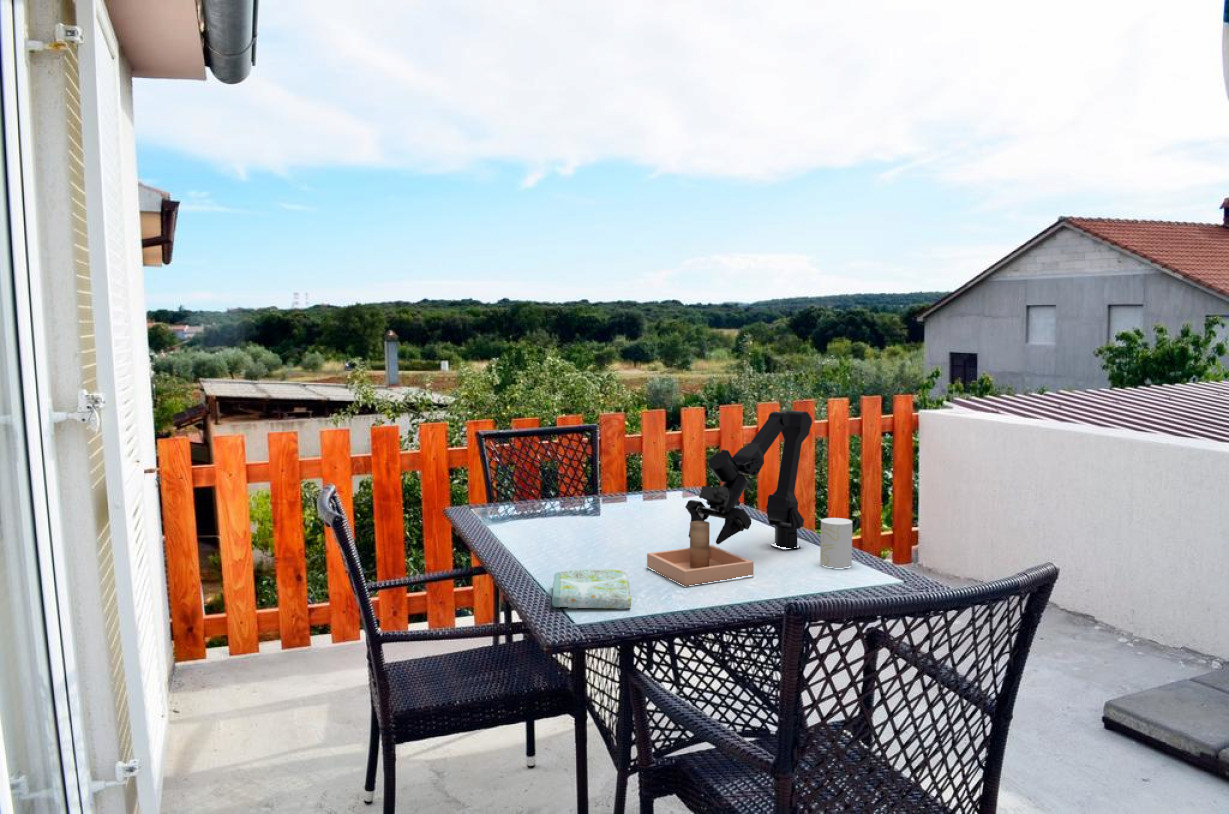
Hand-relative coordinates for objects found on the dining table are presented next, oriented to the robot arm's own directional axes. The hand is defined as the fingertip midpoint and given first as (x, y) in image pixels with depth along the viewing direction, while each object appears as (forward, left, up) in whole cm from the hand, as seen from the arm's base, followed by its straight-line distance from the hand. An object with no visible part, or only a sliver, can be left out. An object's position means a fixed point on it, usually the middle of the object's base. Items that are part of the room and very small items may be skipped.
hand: (703, 540), depth 243 cm
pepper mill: (0, -1, -8) cm, 8 cm away
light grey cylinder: (+11, +35, -8) cm, 37 cm away
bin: (0, -1, -8) cm, 8 cm away
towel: (+7, -35, -9) cm, 37 cm away
